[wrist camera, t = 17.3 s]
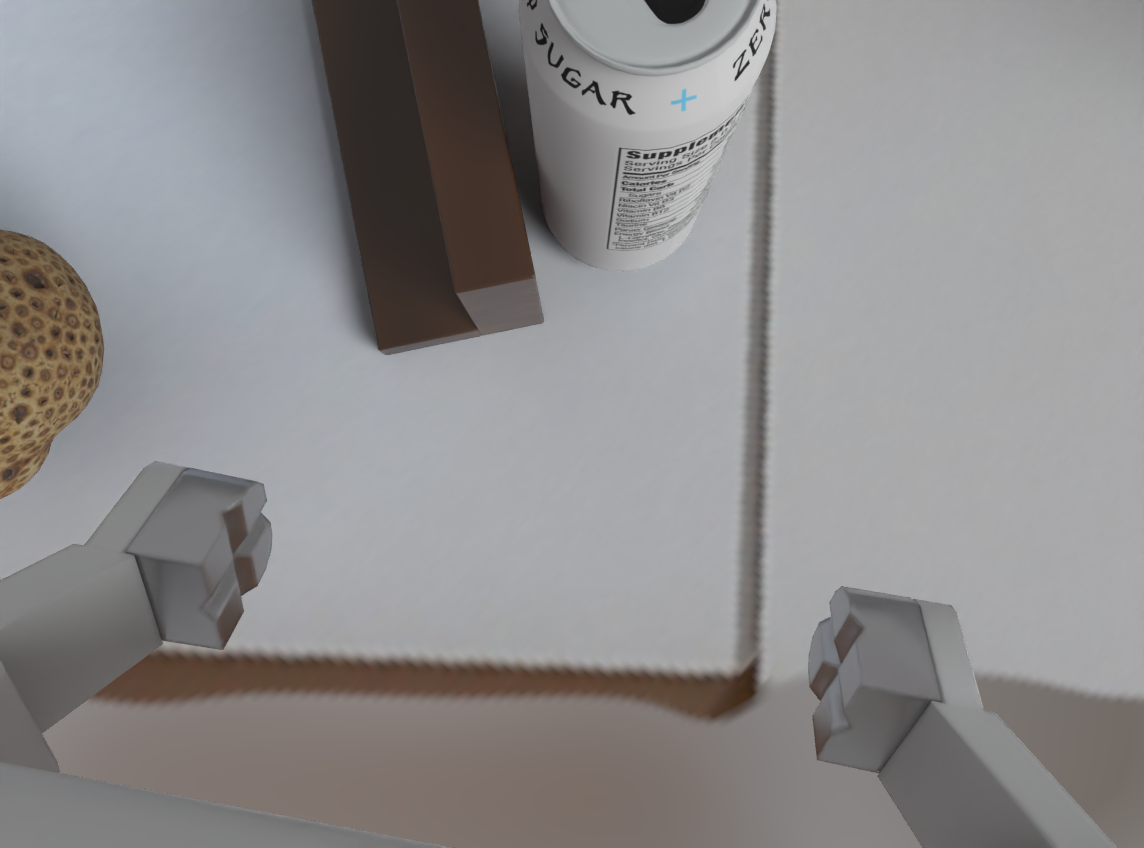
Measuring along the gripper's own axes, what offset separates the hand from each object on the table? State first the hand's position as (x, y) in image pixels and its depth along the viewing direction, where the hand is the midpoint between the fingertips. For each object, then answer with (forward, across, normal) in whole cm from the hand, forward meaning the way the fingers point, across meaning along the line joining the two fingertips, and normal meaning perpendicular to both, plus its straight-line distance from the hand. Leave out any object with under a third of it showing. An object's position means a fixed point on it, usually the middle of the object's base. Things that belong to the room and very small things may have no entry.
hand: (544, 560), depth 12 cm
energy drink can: (+23, 0, +6) cm, 24 cm away
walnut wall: (+23, +8, +5) cm, 25 cm away
